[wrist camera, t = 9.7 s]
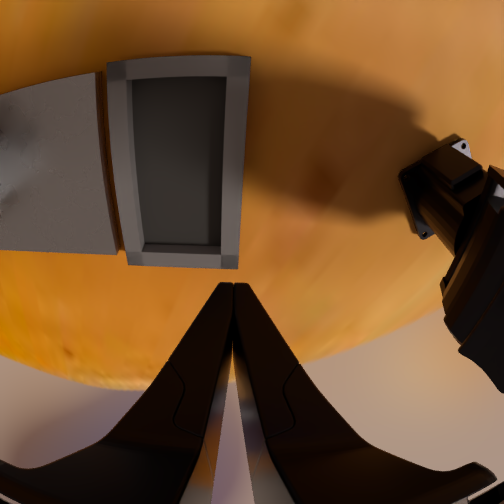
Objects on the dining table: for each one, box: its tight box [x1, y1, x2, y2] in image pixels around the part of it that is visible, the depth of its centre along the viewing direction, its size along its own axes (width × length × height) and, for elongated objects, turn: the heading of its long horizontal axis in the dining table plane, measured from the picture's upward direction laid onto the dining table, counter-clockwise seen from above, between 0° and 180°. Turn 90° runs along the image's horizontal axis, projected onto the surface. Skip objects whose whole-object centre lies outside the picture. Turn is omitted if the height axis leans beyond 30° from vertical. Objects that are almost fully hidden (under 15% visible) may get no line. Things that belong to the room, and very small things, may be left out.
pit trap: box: [107, 55, 251, 269], centre depth 18 cm, size 8×14×2 cm, turn 176°
